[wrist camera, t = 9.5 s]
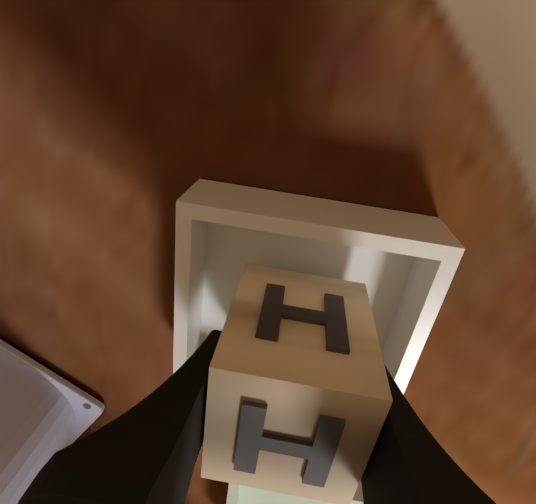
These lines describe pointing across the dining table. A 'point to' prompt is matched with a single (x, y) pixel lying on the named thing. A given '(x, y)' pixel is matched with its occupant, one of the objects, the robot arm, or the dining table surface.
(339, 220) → the white tray
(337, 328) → the letter block
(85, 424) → the robot arm
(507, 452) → the dining table surface
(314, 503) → the sage tray
